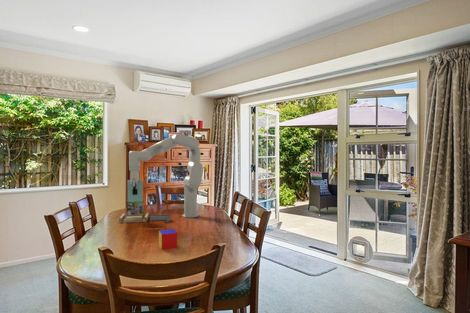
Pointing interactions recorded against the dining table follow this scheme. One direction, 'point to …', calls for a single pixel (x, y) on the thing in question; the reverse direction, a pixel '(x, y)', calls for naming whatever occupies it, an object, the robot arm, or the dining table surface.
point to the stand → (160, 218)
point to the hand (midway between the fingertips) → (135, 194)
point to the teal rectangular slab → (139, 192)
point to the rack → (144, 216)
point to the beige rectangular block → (133, 219)
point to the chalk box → (135, 208)
